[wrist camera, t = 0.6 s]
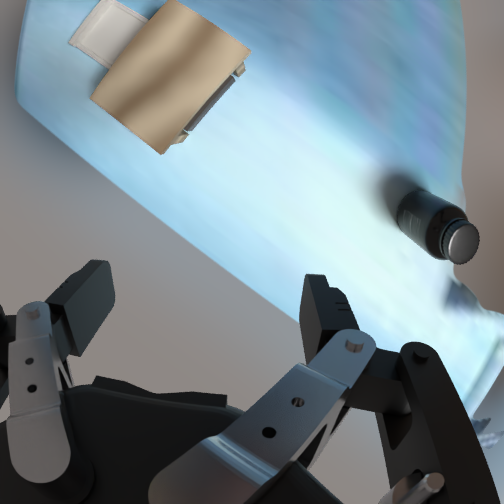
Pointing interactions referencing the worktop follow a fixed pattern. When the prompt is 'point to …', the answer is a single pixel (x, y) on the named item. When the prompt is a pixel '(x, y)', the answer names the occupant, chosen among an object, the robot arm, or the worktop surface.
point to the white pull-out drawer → (108, 31)
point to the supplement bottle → (438, 227)
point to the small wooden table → (170, 75)
